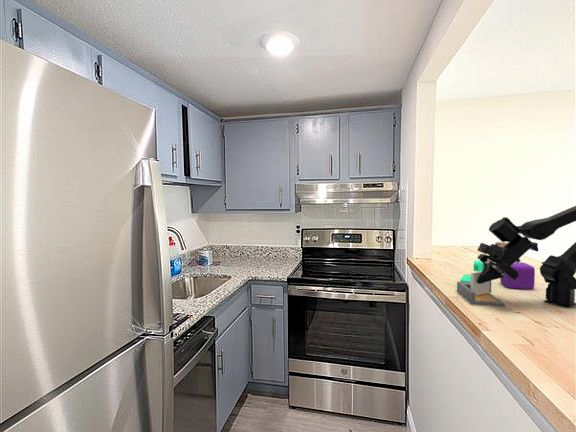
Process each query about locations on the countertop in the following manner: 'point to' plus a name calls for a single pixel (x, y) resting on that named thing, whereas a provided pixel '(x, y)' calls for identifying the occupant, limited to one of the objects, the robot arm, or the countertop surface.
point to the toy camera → (520, 277)
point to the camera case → (477, 296)
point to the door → (479, 285)
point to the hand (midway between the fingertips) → (477, 282)
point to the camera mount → (477, 267)
